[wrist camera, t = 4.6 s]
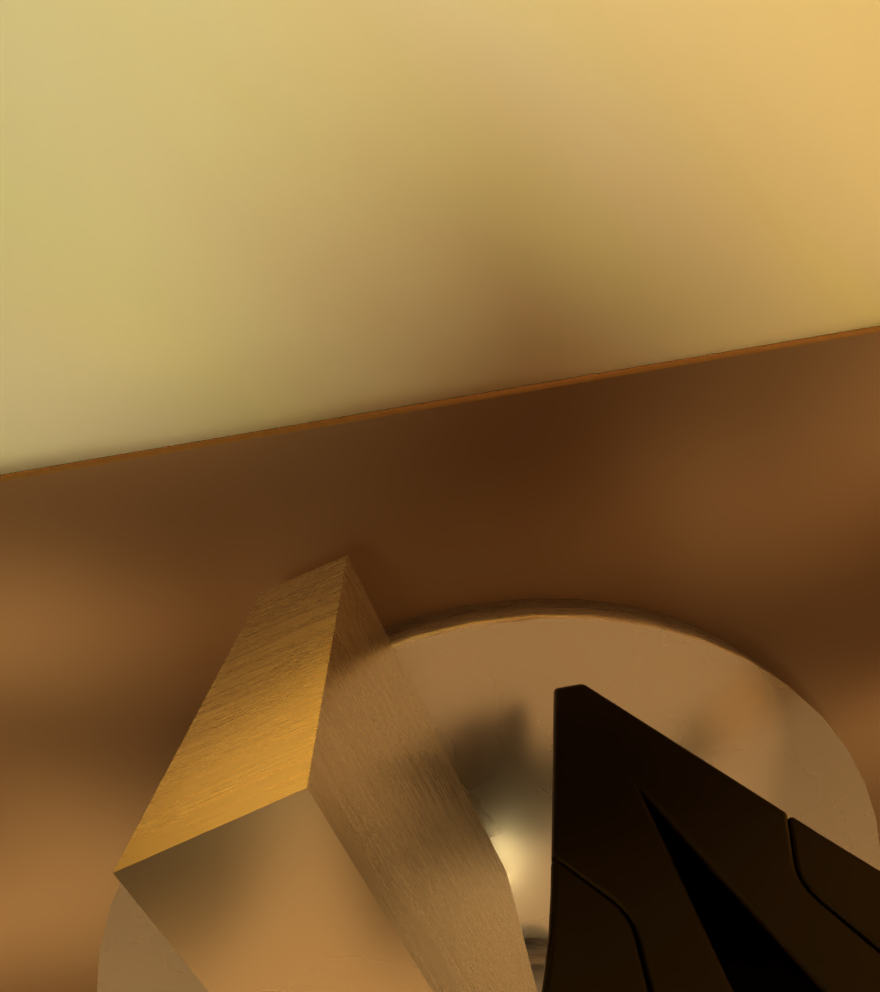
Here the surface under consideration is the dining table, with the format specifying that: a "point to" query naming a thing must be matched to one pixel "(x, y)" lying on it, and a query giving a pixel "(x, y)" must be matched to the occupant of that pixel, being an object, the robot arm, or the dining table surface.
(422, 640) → the dial
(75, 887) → the board
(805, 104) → the dining table surface
